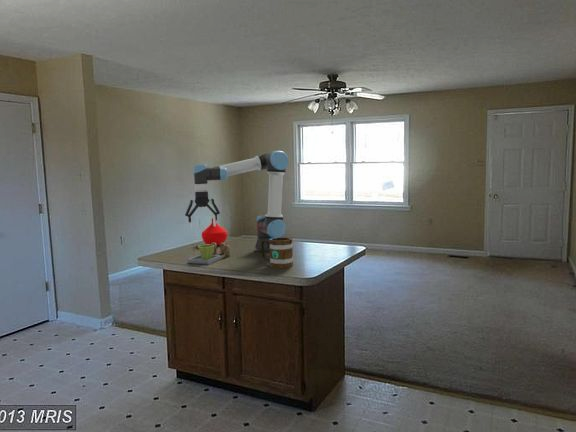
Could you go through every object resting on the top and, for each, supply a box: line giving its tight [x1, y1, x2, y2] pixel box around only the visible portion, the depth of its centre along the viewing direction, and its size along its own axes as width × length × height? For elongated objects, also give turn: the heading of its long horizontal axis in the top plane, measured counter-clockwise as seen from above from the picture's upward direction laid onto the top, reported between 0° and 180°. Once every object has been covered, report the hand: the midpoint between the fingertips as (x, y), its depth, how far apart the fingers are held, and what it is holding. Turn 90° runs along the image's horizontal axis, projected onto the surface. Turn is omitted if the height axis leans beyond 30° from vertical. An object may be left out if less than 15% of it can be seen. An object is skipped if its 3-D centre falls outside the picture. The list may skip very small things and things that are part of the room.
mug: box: [261, 236, 294, 269], centre depth 253 cm, size 20×14×15 cm
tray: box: [187, 254, 222, 265], centre depth 269 cm, size 14×14×2 cm
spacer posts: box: [204, 242, 231, 258], centre depth 284 cm, size 17×17×7 cm
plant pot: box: [197, 244, 214, 260], centre depth 269 cm, size 9×9×9 cm
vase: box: [201, 217, 228, 247], centre depth 324 cm, size 18×18×19 cm
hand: (203, 227), depth 267 cm, fingers open, 13 cm apart
